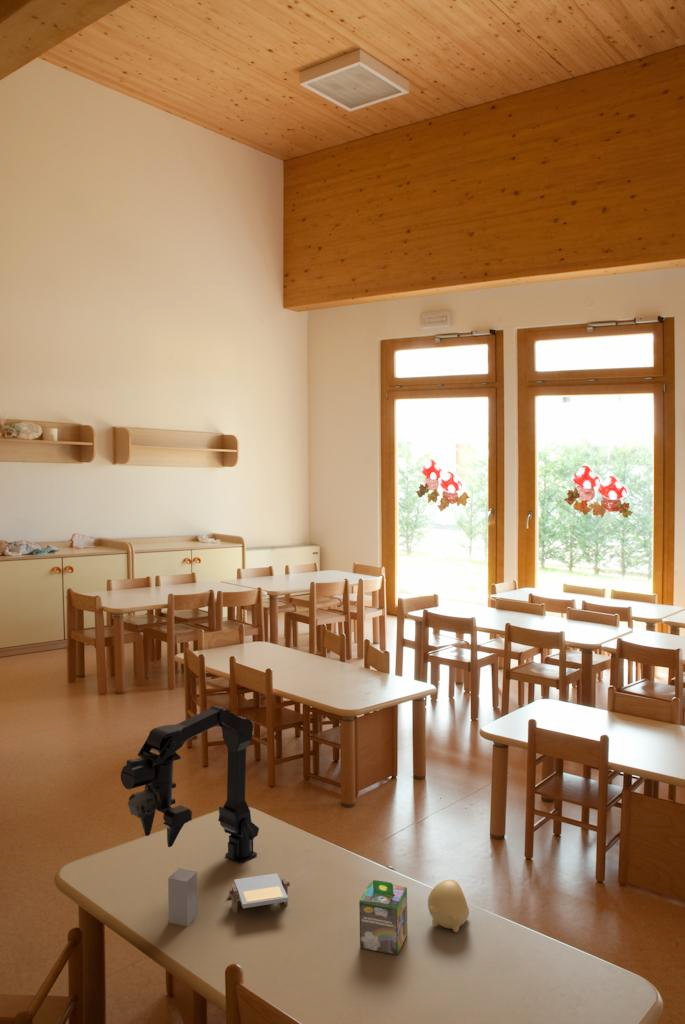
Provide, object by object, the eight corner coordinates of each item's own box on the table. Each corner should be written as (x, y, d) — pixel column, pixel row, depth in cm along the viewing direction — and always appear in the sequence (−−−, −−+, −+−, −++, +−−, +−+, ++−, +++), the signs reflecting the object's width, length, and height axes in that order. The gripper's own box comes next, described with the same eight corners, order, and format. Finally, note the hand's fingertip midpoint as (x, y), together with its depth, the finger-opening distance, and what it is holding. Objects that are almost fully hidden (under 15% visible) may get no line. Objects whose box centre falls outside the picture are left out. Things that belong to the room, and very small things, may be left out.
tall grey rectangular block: (179, 911, 205) (178, 868, 204) (197, 915, 203) (197, 871, 202) (168, 922, 200) (168, 878, 199) (187, 926, 198) (187, 881, 198)
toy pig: (468, 943, 198) (479, 899, 205) (459, 924, 190) (471, 879, 197) (429, 931, 202) (441, 888, 209) (418, 912, 194) (431, 868, 201)
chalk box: (408, 934, 195) (408, 873, 194) (397, 956, 187) (398, 892, 186) (370, 927, 198) (370, 866, 197) (358, 948, 190) (358, 885, 189)
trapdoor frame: (225, 896, 211) (225, 875, 211) (283, 888, 216) (283, 867, 215) (230, 913, 204) (230, 891, 203) (290, 904, 208) (290, 882, 208)
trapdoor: (234, 895, 210) (234, 879, 210) (277, 888, 214) (277, 872, 213) (242, 920, 199) (242, 903, 199) (287, 913, 202) (287, 896, 202)
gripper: (112, 777, 210) (109, 838, 211) (157, 797, 198) (155, 862, 198) (148, 767, 219) (146, 826, 219) (194, 786, 207) (192, 849, 207)
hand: (158, 841), depth 211 cm, fingers open, 9 cm apart
